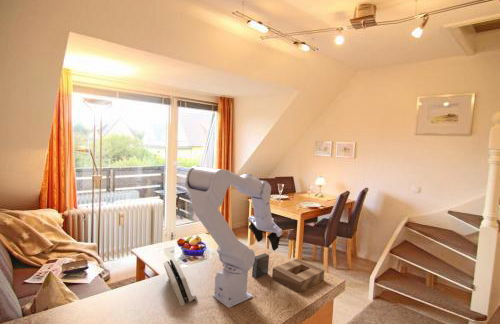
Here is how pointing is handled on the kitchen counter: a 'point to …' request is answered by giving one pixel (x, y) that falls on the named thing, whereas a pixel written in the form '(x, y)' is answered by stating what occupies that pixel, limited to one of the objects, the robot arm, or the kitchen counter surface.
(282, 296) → the kitchen counter surface
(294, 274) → the slotted wooden block
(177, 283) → the white game console
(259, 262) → the grey rectangular block
